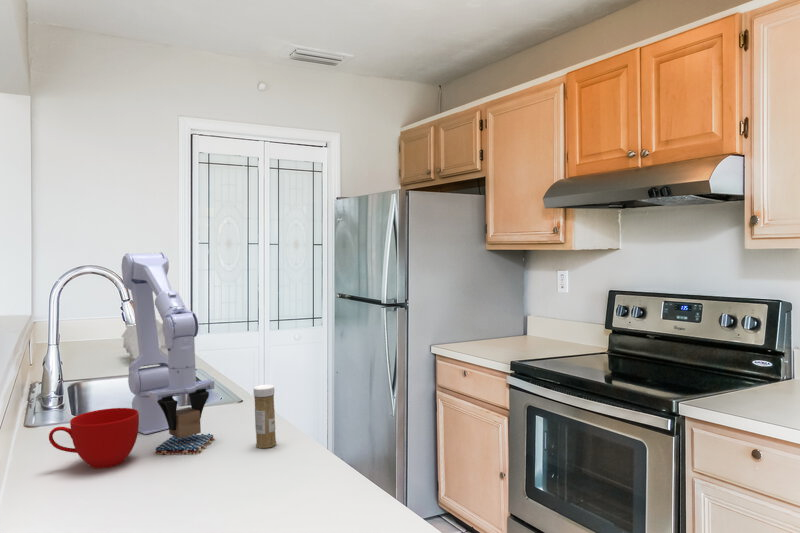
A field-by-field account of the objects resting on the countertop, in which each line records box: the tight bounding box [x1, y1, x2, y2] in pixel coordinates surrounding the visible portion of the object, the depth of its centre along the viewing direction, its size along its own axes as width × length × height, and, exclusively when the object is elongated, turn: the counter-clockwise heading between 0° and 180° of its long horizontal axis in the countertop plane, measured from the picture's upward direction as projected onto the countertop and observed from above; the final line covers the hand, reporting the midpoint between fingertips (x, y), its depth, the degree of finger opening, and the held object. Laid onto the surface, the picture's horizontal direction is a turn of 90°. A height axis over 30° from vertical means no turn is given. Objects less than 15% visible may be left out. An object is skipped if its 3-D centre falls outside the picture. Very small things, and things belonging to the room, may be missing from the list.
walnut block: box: [168, 406, 202, 438], centre depth 135 cm, size 5×5×5 cm
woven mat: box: [154, 433, 216, 456], centre depth 135 cm, size 10×11×2 cm
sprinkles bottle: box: [253, 384, 277, 449], centre depth 134 cm, size 5×5×14 cm
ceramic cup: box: [48, 407, 139, 469], centre depth 126 cm, size 13×17×10 cm
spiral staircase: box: [121, 319, 168, 360], centre depth 245 cm, size 18×18×25 cm
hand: (184, 426), depth 135 cm, fingers closed on walnut block, 5 cm apart
